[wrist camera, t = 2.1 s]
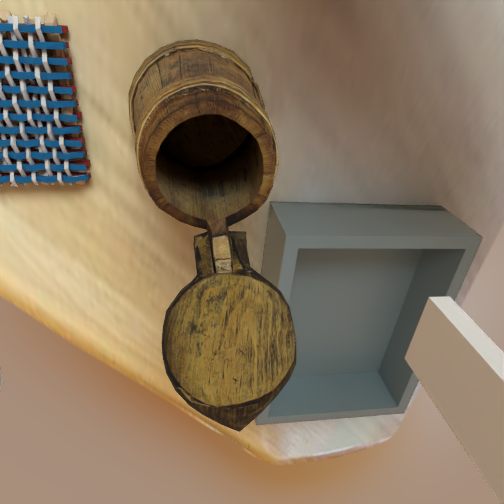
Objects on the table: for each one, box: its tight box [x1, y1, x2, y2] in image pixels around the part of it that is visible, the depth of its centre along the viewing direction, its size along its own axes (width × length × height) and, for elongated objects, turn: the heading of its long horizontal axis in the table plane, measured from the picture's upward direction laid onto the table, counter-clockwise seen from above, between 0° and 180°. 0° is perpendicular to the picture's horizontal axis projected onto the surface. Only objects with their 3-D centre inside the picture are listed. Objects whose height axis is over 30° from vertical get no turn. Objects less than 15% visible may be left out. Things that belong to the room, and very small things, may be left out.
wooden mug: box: [129, 40, 296, 432], centre depth 21 cm, size 9×14×18 cm, turn 2°
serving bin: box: [255, 202, 483, 425], centre depth 35 cm, size 20×15×6 cm
